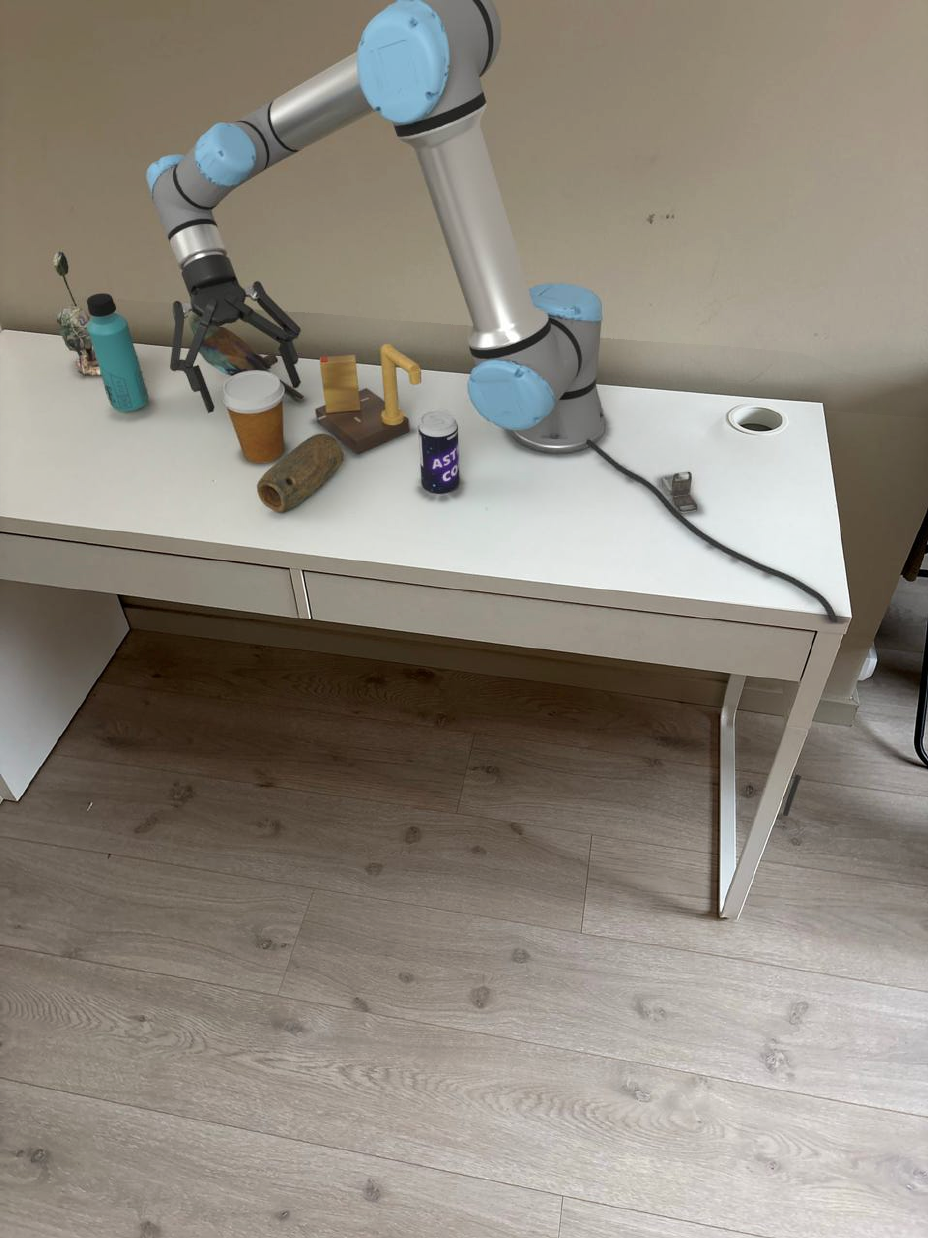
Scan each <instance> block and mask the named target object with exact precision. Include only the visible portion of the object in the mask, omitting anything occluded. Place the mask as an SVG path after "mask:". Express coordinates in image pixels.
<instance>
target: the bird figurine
mask: <svg viewBox="0 0 928 1238" xmlns="http://www.w3.org/2000/svg"><path fill="white" fill-rule="evenodd" d="M200 321H201V318H200V317H199V316H198V315H196V314H195V313H193V314H191V316H189V319H188V325H189V326H190V329H191V332H192V334H193V335H194V336H195V334H196V331H197V329H198V326H199V324H200ZM198 354H200V355H201V357H202V358H203V360H204V361H206V363H207V364H209V365H210V366H212V367H213V368H215V369H216V370H218V371H219V372H222V373H223V374H225V375H229V376H230V377H231V376H233V375H235V374H238V373H241V372H245V371H251V370H261V371H267V372H270V373H272V372H271V371H270V369H272V366H274V365H275V364H277V363H278V362H279V359H278V356H277V355H276V354H275V353H274V352H270V353H269V354H267V355H266V356H264V357H263V356H261V354H260V353H259V352H257V351H256V350H255V349H254V348H253V346H251V345H250V344H248V343H247V342H246V341H244V340H243V339H242V338H241V337H239V336H238V335H237V334H235V332H233V331H232V330H230V329H228V328H227V327H225V326H219V327H216V326H212V325H209V327H208V330H207V332H206V334H205V337H204V339H203V342H202V344H201V347H200V350H199V352H198ZM279 380H280V382H281V383H282V384H283V386H284V389H285V391H284V395H287V396H289V398H290V399H292V400H293V401H295V402H298V403H299V402H301V401H302V400H303V399H304V397H305V396H304V395H303V394H302V393H300V392H299V391H298V390H297V389H296V388H294V389H293V386H292V387H291V386H290V385H289V384H287V383H286V382H285V381H284V380H282V379H280V378H279Z"/></svg>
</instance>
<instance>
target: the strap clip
mask: <svg viewBox="0 0 928 1238" xmlns="http://www.w3.org/2000/svg"><path fill="white" fill-rule="evenodd" d="M685 475H688V478H683V476H685ZM692 481H693V475H692V472H691V471H681V472H675V473H674V474H667V475H663V476H662V477H661V482H662V486H663V487H664V489H665V491H666V492H667V493H668V494H669V495H671V496H672V498H671V501H672V503H673V505H674V508H675V509H676V510H677V511H678V512H679V513H680V514H686V513H692V512H693V513H694V512H697V511H698V505H697V503H696V502H695V500H694V498H693V497H692V496H691V495H690V493H691V488H692ZM692 507H693V508H692ZM685 508H688V509H685Z"/></svg>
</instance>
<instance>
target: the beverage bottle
mask: <svg viewBox="0 0 928 1238" xmlns="http://www.w3.org/2000/svg"><path fill="white" fill-rule="evenodd" d="M86 305H87V311H88V314H89V315H90V316H92V318H90V322H89V323H88V325H87V331H88V333H89V336H90V339H91V342H92V346H93V349H94V352H95V356H96V359H97V362H98V366H99V369H100V370H99V371H100V372H101V374H100V376H101V380H102V381H103V382H102V383H103V387H104V390H105V393H106V395H107V399H108V401H109V404H110V405H111V407H112V408H113V409H114V410H116V411H119V412H133V411H136V410H139V409H141V408H143V407H144V406H146V404H147V403H148V401H149V397H150V396H149V392H148V390H147V389H148V388H147V385H146V382H145V381H146V379H145V378H144V375H143V371H142V366H141V363H140V360H139V357H138V355H137V351H136V349H135V345H134V342H133V337H132V334H131V331H130V328H129V322H128V319H127V318H126V317H124V315H121V314H119V313H117V312H116V310H117V305H116V303H115V301H114V298H113V296H112V295H111V294H109V293H106V292H104V293H103V292H100V293H95V294H92V295H90V296H89V297H87V299H86Z"/></svg>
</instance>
